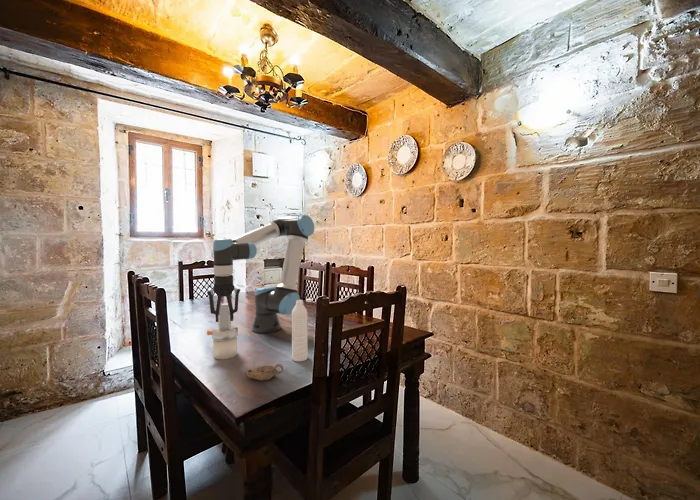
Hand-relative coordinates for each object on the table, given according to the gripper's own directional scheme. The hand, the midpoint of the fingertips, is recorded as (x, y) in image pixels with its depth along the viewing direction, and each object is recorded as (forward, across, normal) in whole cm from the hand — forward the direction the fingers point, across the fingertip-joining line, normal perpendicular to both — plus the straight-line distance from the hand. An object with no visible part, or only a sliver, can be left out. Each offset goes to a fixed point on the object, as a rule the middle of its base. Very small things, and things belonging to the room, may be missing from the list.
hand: (224, 328), depth 133 cm
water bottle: (+12, -32, +12) cm, 36 cm away
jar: (+12, 0, 0) cm, 12 cm away
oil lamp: (+12, -17, +26) cm, 33 cm away
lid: (+3, +1, 0) cm, 3 cm away
